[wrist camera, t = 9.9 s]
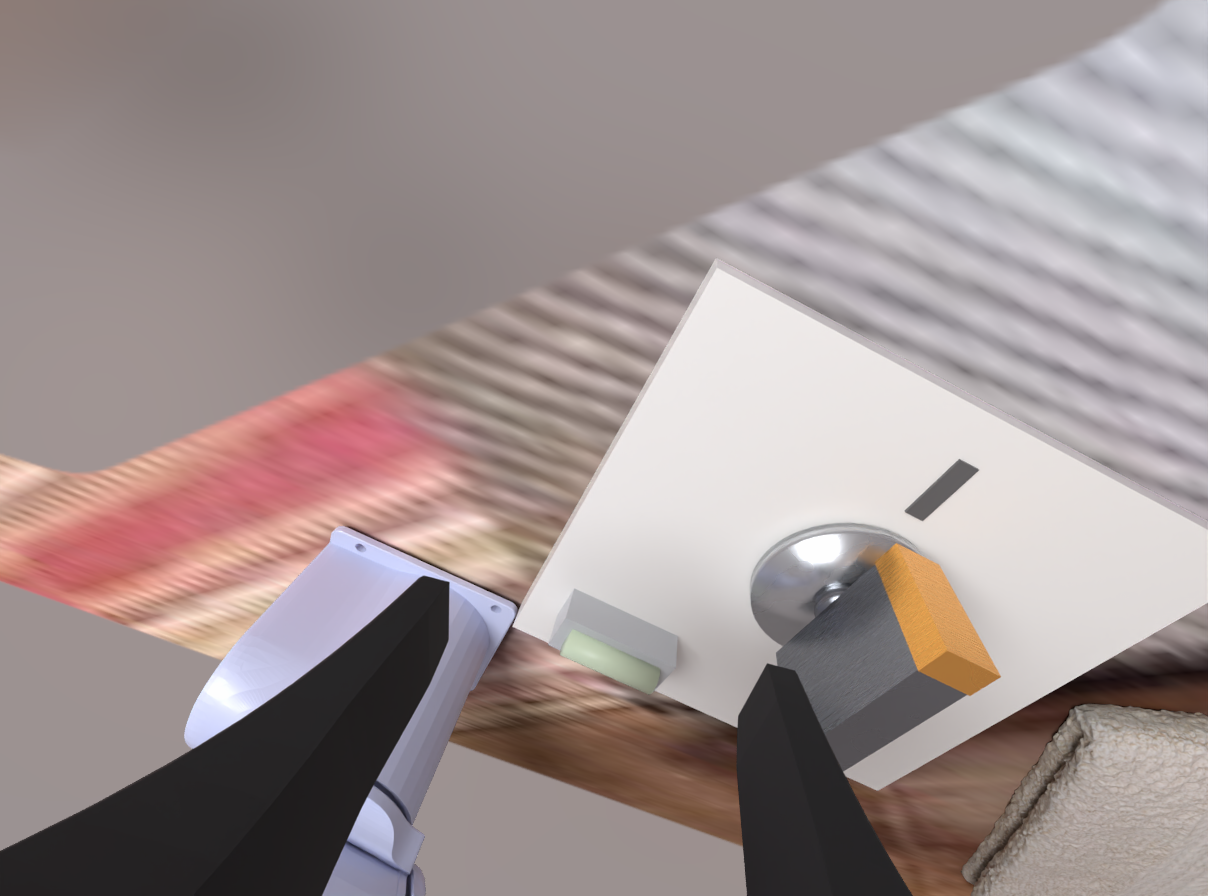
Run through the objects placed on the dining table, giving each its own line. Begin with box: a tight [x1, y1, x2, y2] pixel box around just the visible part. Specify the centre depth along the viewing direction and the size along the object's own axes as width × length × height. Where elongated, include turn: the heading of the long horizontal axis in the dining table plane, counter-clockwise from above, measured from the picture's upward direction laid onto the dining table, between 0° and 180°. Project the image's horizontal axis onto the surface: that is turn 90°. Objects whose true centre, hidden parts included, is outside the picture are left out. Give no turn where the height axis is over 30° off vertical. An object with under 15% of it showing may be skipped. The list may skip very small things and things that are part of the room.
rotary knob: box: [750, 523, 1001, 772], centre depth 17 cm, size 7×6×5 cm
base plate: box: [512, 258, 1208, 791], centre depth 20 cm, size 20×18×4 cm
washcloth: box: [961, 704, 1208, 896], centre depth 25 cm, size 12×18×3 cm, turn 4°
